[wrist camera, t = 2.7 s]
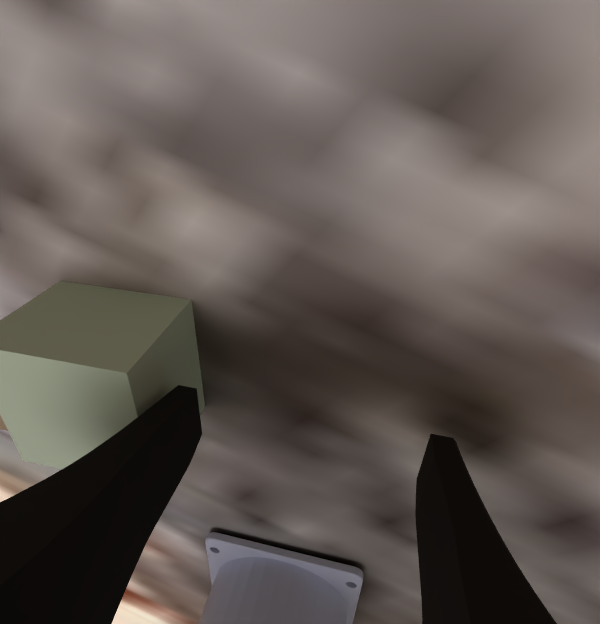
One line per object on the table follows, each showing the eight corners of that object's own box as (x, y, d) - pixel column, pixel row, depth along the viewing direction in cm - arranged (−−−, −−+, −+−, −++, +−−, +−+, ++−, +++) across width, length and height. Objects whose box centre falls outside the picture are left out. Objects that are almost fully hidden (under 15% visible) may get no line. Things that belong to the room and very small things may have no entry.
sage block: (206, 404, 17) (156, 491, 13) (95, 383, 18) (23, 460, 14) (192, 297, 14) (127, 373, 11) (63, 279, 15) (-35, 343, 12)
